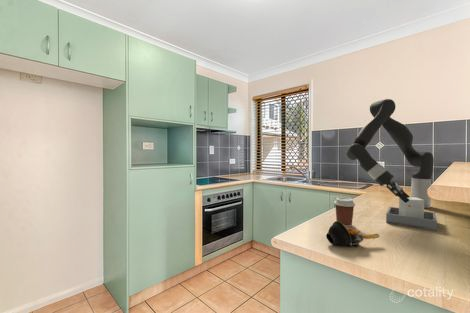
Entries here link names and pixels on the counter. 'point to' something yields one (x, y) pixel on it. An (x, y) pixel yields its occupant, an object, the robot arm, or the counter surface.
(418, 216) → the small box
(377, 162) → the robot arm
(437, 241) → the counter surface
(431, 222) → the tray
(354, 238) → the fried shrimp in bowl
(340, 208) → the coffee cup
